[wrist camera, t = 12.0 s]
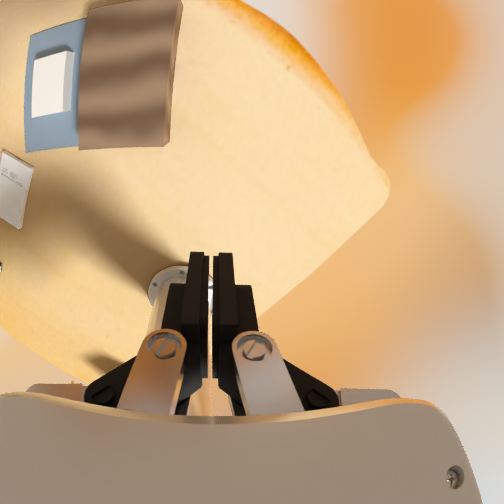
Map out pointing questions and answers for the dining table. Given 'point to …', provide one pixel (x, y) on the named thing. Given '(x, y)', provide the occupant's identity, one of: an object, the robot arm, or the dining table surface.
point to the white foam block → (52, 84)
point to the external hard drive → (14, 188)
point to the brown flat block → (128, 74)
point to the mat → (66, 123)
